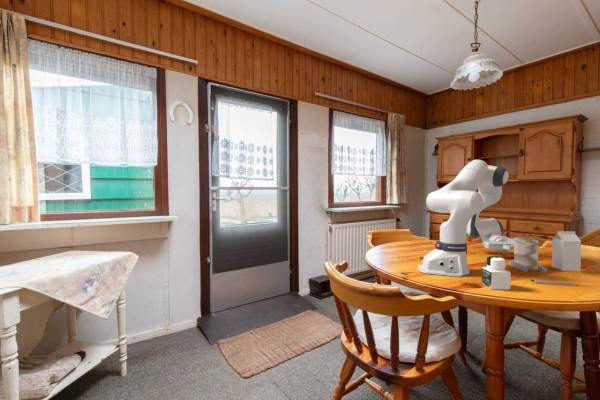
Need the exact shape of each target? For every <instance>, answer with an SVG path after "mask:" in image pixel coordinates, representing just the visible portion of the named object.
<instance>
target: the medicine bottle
mask: <svg viewBox="0 0 600 400" xmlns="http://www.w3.org/2000/svg"><path fill="white" fill-rule="evenodd" d="M511 275H512V274H511V271H509V270H507V269H506V259H505V258H504V257H500V256H495V255H490V256H487V257H486V266H482V267H481V284H482V285H483V286H485V287H487V288H489V289H490V290H498V291H499V290H501V291H502V290H503V291H510V290H511V281H512V280H511Z"/></svg>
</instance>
